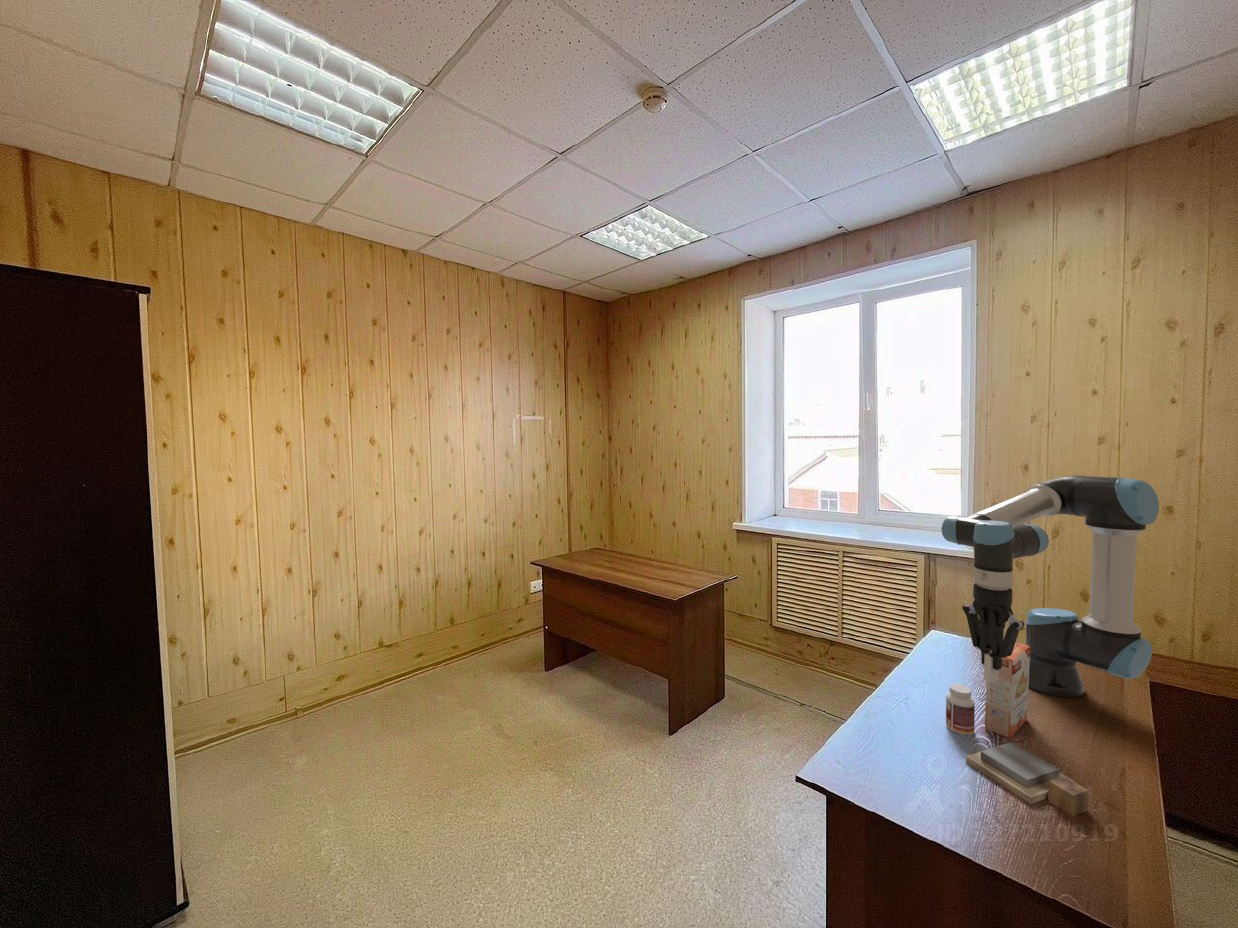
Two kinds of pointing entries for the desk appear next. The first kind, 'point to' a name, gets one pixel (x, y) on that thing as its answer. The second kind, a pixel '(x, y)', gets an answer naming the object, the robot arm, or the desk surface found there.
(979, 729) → the desk surface
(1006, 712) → the cracker box
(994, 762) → the podium
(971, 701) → the pill bottle
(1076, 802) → the walnut cube
